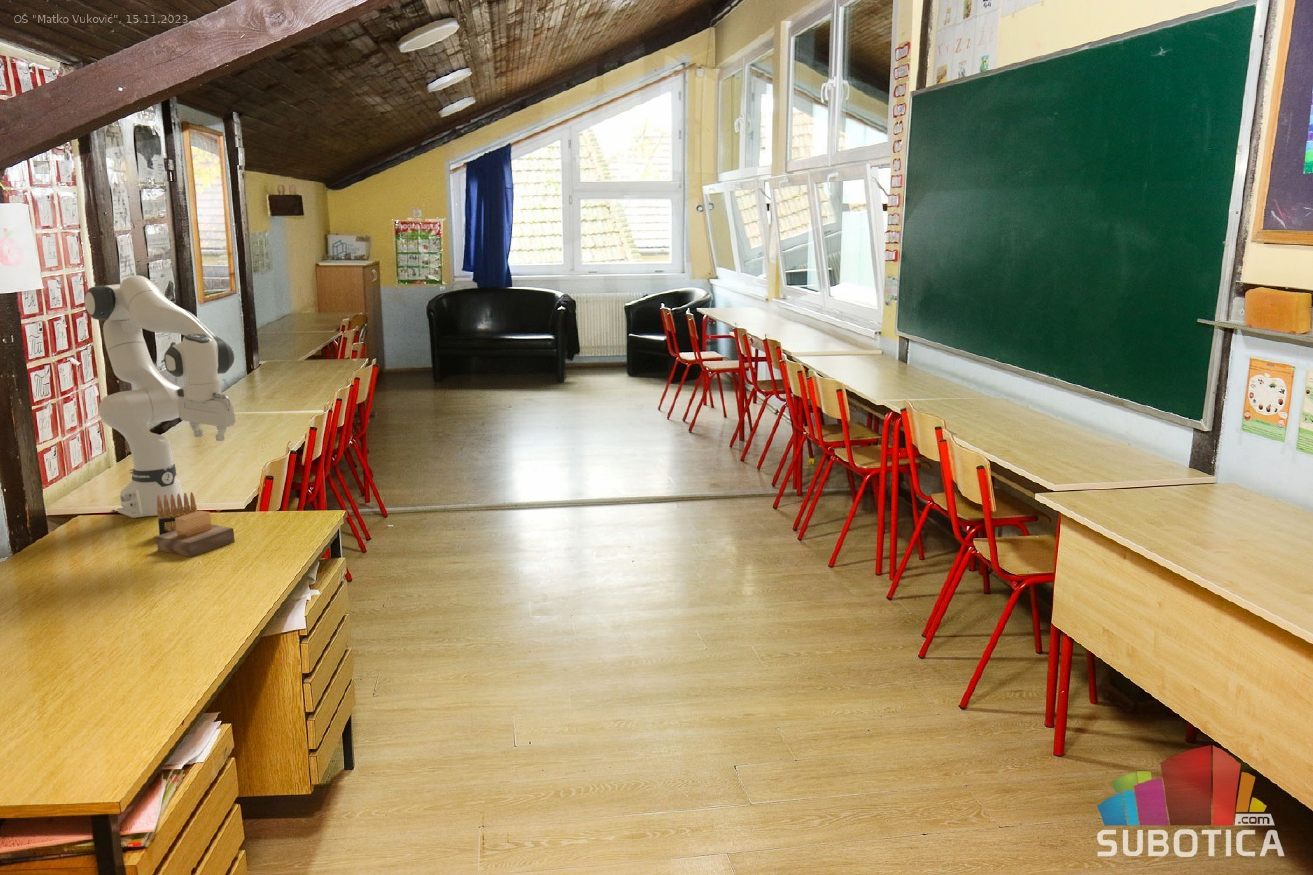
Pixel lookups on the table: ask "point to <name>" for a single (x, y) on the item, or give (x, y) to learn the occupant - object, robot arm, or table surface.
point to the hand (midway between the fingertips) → (209, 438)
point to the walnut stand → (195, 541)
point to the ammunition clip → (173, 511)
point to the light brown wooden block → (193, 523)
